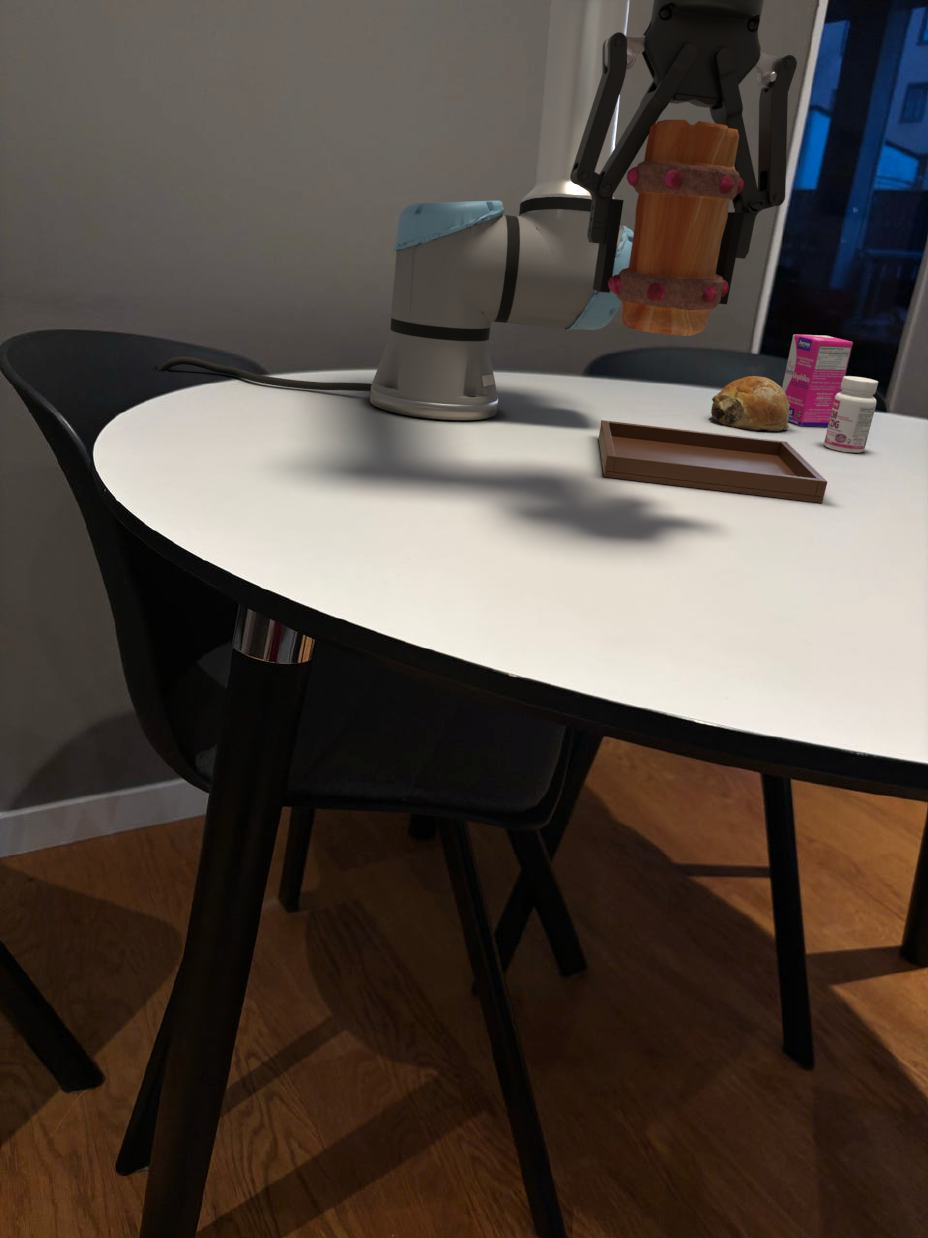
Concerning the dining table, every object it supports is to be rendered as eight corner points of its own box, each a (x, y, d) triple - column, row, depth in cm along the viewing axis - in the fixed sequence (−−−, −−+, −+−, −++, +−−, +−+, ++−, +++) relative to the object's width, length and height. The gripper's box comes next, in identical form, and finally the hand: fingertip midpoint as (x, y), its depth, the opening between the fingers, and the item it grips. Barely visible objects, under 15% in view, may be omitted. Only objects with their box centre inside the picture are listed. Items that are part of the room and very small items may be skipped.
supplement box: (773, 417, 137) (792, 332, 132) (808, 418, 139) (827, 335, 134) (799, 426, 132) (819, 338, 127) (835, 427, 134) (856, 341, 129)
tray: (603, 476, 93) (607, 455, 92) (598, 438, 110) (601, 419, 110) (822, 503, 92) (827, 481, 91) (782, 460, 109) (786, 441, 108)
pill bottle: (814, 444, 120) (831, 374, 117) (841, 443, 123) (858, 375, 119) (845, 453, 116) (862, 382, 113) (872, 453, 119) (890, 382, 116)
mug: (702, 343, 69) (744, 105, 63) (592, 328, 72) (623, 99, 66) (737, 330, 82) (774, 131, 76) (642, 318, 85) (671, 125, 79)
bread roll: (776, 461, 126) (815, 408, 123) (712, 420, 124) (750, 365, 122) (756, 445, 135) (792, 394, 133) (695, 406, 133) (731, 354, 131)
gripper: (575, -85, 62) (531, 287, 71) (888, -39, 65) (809, 314, 74) (554, -56, 69) (516, 279, 78) (838, -16, 72) (771, 305, 81)
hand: (659, 296), depth 76 cm, fingers closed on mug, 8 cm apart
